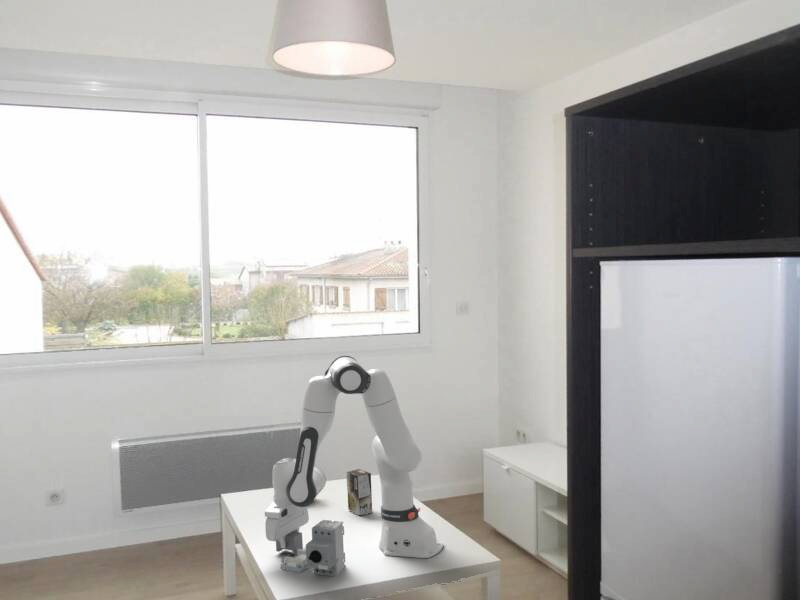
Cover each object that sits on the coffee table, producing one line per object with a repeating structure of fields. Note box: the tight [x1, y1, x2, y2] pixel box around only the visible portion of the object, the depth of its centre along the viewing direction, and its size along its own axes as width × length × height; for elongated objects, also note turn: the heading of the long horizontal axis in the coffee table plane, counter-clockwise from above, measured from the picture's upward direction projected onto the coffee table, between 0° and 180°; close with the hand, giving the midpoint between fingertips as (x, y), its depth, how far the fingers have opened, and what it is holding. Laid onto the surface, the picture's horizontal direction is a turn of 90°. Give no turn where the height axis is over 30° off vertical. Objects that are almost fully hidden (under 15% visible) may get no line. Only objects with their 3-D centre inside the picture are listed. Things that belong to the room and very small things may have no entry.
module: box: [275, 531, 304, 555], centre depth 255 cm, size 8×4×6 cm, turn 62°
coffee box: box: [346, 468, 373, 516], centre depth 295 cm, size 9×6×16 cm
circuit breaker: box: [305, 519, 346, 577], centre depth 236 cm, size 8×14×15 cm, turn 159°
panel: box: [280, 548, 308, 573], centre depth 246 cm, size 8×14×3 cm, turn 153°
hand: (289, 544), depth 255 cm, fingers closed on module, 4 cm apart
